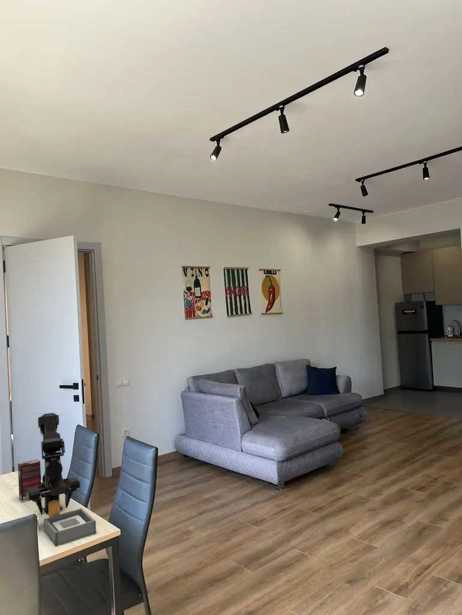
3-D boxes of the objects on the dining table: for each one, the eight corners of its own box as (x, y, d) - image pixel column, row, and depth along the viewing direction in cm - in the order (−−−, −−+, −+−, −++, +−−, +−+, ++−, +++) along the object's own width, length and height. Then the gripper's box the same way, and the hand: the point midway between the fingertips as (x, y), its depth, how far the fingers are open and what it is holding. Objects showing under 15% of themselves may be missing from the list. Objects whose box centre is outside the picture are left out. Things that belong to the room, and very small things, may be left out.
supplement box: (39, 494, 202) (37, 458, 203) (42, 497, 198) (40, 461, 199) (18, 499, 197) (17, 463, 197) (21, 502, 193) (19, 465, 194)
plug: (47, 523, 171) (47, 501, 172) (58, 519, 174) (57, 499, 174) (50, 526, 168) (50, 505, 169) (61, 523, 171) (61, 502, 171)
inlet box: (44, 531, 164) (43, 518, 165) (82, 519, 173) (81, 508, 173) (55, 546, 152) (55, 533, 153) (96, 533, 161) (95, 520, 161)
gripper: (32, 481, 160) (33, 525, 159) (84, 469, 171) (85, 510, 170) (24, 473, 169) (26, 515, 168) (74, 462, 180) (76, 501, 179)
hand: (54, 511), depth 171 cm, fingers open, 9 cm apart
